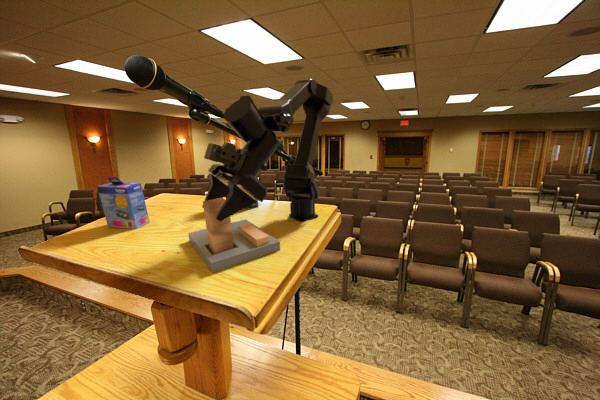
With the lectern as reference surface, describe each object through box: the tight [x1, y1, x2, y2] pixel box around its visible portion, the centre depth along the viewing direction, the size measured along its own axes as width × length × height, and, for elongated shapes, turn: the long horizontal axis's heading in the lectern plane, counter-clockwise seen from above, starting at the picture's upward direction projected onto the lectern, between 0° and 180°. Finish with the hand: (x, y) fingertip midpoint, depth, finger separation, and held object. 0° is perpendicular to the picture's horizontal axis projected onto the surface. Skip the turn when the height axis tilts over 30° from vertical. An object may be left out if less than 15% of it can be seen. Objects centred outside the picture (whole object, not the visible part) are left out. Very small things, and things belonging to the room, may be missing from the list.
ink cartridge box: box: [96, 176, 150, 230], centre depth 74 cm, size 10×6×14 cm, turn 78°
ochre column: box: [202, 197, 234, 255], centre depth 55 cm, size 4×4×12 cm
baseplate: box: [188, 218, 281, 273], centre depth 60 cm, size 15×18×4 cm
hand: (210, 213), depth 53 cm, fingers open, 9 cm apart
